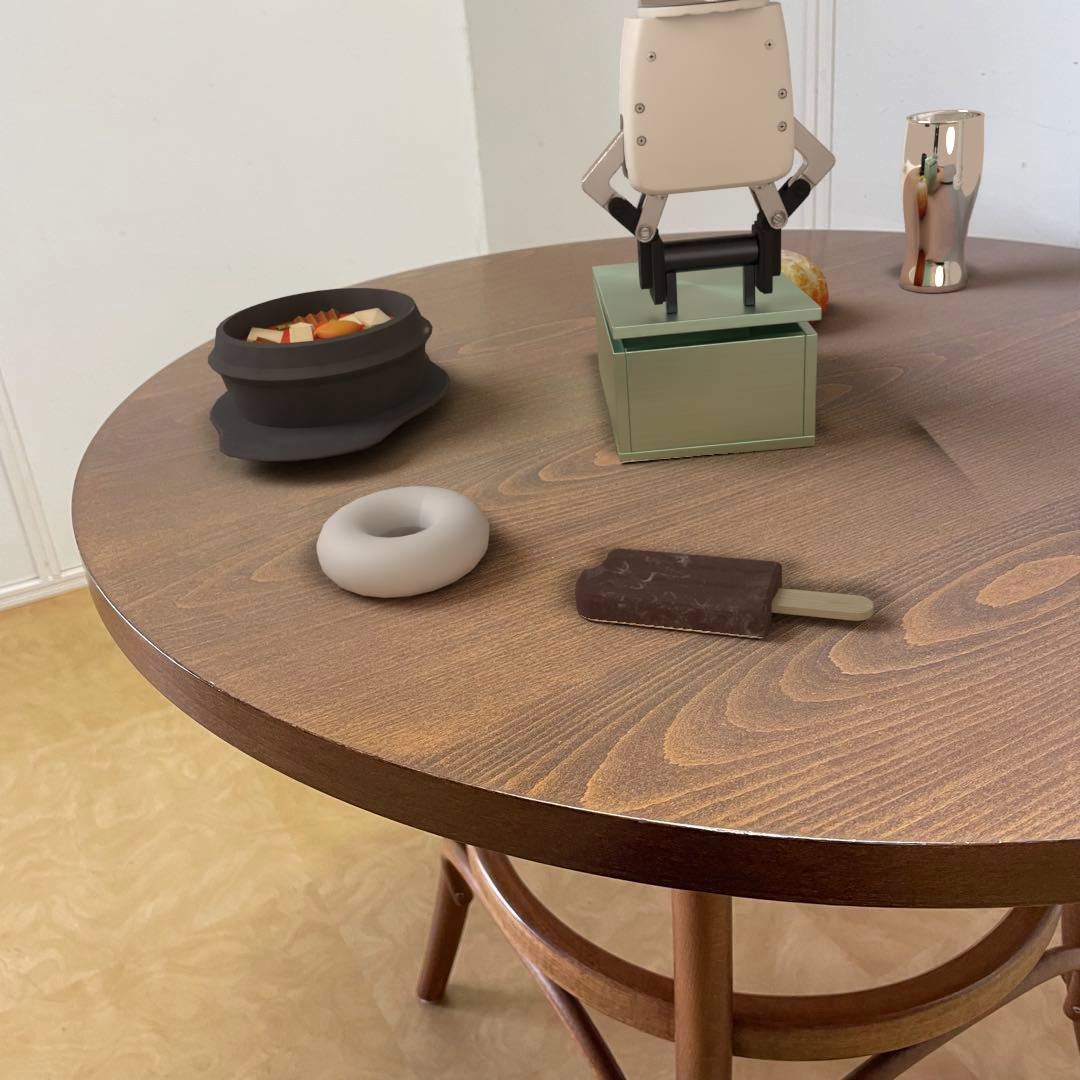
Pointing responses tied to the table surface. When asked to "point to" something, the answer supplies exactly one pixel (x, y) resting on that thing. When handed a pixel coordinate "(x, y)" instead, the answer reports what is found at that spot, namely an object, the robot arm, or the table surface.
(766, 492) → the table surface
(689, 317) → the freezer lid
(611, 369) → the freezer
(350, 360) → the casserole
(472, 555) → the donut
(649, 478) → the table surface
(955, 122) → the beer glass
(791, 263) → the fruit
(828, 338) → the table surface
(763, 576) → the ice cream bar
